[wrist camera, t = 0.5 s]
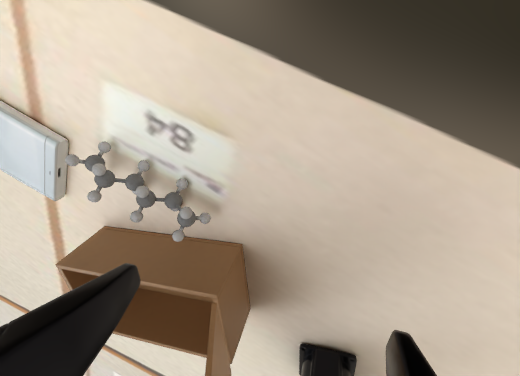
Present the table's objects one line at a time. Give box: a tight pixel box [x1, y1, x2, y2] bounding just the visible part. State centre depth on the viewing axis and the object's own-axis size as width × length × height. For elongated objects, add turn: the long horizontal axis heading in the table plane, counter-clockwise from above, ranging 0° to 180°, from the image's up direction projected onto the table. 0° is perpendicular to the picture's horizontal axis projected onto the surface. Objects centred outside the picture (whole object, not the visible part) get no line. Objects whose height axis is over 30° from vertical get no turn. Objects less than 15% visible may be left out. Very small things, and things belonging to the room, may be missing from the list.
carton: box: [56, 226, 250, 364], centre depth 29 cm, size 18×10×6 cm, turn 93°
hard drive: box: [0, 101, 69, 201], centre depth 28 cm, size 2×8×12 cm
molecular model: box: [65, 142, 211, 242], centre depth 24 cm, size 14×4×5 cm, turn 66°
